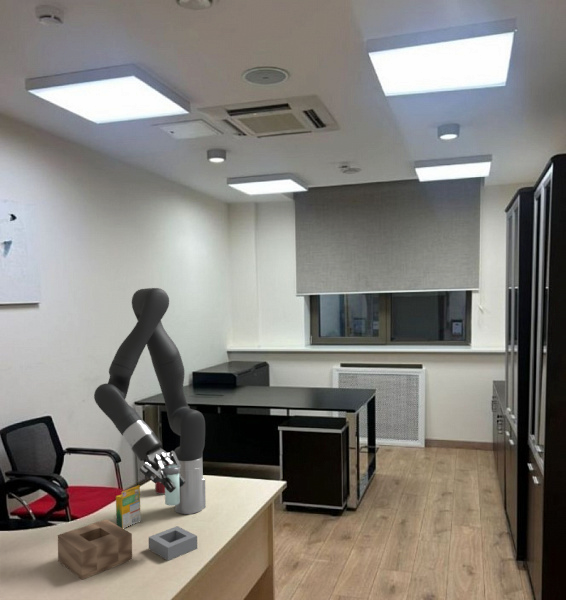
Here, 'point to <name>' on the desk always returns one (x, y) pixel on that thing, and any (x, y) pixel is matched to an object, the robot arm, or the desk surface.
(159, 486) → the soda can
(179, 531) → the grey hollow square block
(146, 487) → the desk surface
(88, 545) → the port block
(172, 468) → the plug
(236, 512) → the desk surface
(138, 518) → the crayon box
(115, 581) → the desk surface
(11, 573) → the desk surface
